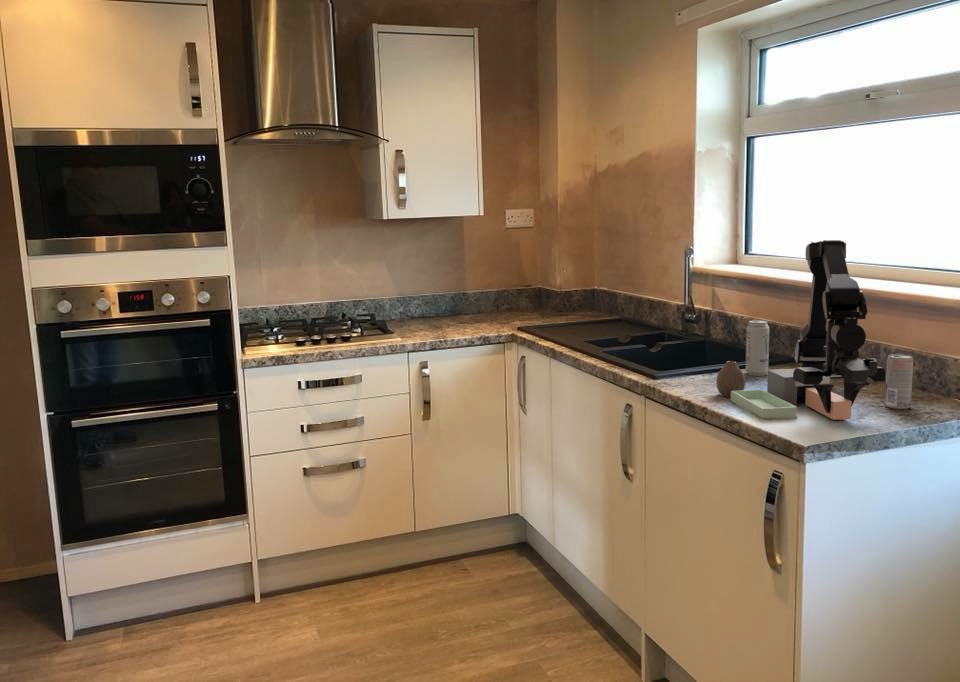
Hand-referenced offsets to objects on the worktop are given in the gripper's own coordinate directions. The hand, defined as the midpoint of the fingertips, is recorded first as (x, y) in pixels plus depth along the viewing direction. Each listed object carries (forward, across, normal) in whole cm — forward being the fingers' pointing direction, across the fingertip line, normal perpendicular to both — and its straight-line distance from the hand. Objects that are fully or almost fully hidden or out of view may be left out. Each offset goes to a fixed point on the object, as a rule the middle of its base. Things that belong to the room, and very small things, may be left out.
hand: (837, 412), depth 178 cm
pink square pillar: (+1, 0, +5) cm, 5 cm away
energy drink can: (+2, +3, +49) cm, 49 cm away
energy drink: (+2, +19, +8) cm, 21 cm away
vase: (+2, -14, +26) cm, 30 cm away
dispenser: (+2, 0, +18) cm, 18 cm away
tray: (+2, -12, +12) cm, 17 cm away
